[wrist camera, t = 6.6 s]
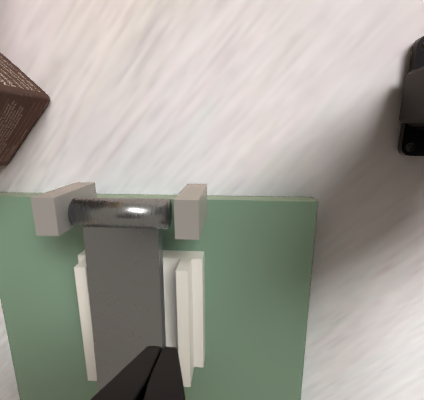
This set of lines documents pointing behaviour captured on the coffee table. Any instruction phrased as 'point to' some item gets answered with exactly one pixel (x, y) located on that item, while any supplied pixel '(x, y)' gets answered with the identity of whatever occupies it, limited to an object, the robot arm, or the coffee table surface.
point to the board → (166, 293)
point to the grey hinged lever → (123, 276)
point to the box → (17, 107)
